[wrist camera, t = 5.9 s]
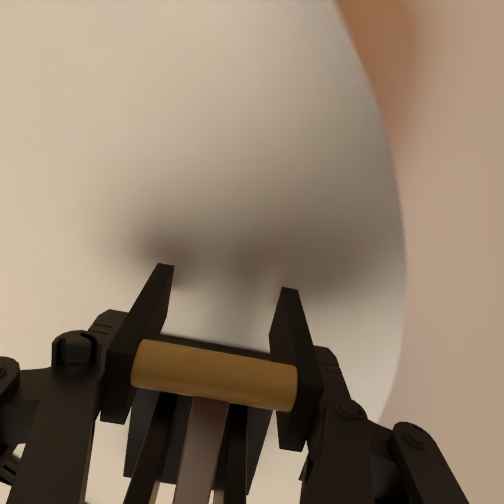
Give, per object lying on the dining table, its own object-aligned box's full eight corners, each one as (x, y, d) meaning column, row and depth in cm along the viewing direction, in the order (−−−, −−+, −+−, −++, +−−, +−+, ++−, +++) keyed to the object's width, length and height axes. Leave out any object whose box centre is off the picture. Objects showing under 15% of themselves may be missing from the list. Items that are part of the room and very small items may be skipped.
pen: (-39, 442, 23) (-53, 458, 22) (-24, 429, 23) (-37, 444, 22) (125, 550, 27) (120, 568, 26) (141, 540, 27) (136, 558, 26)
